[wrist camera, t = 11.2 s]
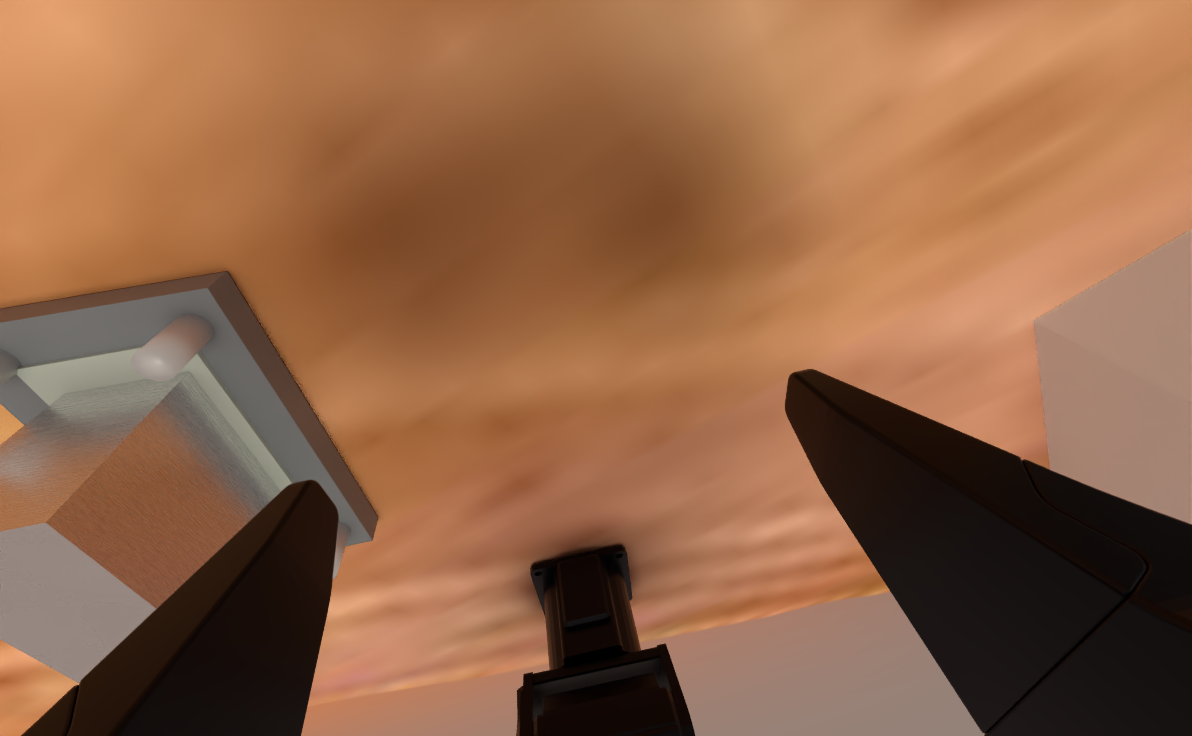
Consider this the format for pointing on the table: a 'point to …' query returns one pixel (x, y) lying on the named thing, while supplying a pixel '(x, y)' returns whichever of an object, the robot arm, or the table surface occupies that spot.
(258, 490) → the block
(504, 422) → the table surface
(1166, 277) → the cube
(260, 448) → the pin tray
